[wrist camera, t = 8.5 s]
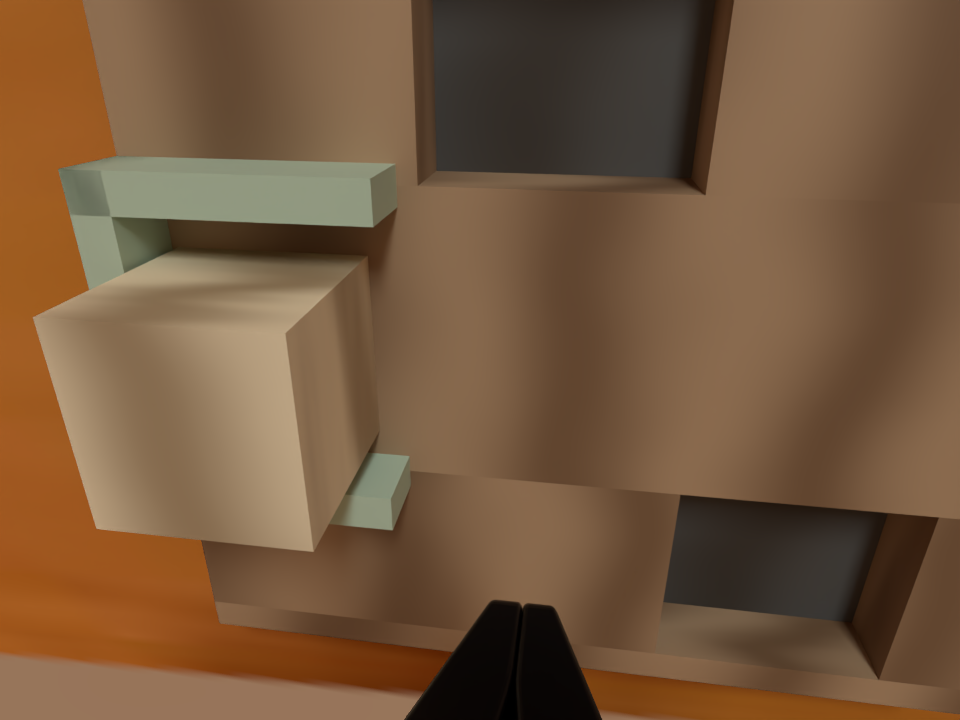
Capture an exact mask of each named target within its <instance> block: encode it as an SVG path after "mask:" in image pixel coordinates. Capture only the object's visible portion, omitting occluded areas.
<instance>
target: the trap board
mask: <svg viewBox="0 0 960 720" xmlns="http://www.w3.org/2000/svg"><path fill="white" fill-rule="evenodd" d="M83 4H84V9H85V13H86V18H87V23H88V27H89V32H90V36H91V41H92V45H93V50H94V54H95V59H96V63H97V68H98V73H99V77H100V82H101V86H102V91H103V95H104V100H105V104H106V109H107V113H108V118H109V123H110V127H111V132H112V136H113V141H114V145H115V150H116V154H117V156H134V157H170V158H206V159H243V160H279V161H315V162H351V163H387V164H395V166H396V186H397V208H396V209H395V210H393V211H392V212H391V213H390V214H389V215H387V216H386V217H385V218H384V219H383V220H381V221H380V222H379V223H378V224H377V225H375V226H374V227H354V226H329V225H304V224H280V223H255V222H230V221H205V220H181V219H167V223H168V228H169V233H170V238H171V243H172V248H173V250H174V249H176V248H178V247H189V248H211V249H232V250H253V251H275V252H296V253H318V254H339V255H360V256H368V267H369V281H370V296H371V311H372V325H373V340H374V354H375V369H376V383H377V398H378V413H379V427H380V431H379V432H378V434H377V436H376V438H375V440H374V442H373V443H372V445H371V447H370V449H369V451H368V453H379V454H390V455H402V456H409V457H410V478H411V486H410V489H409V491H408V494H407V496H406V499H405V501H404V504H403V506H402V509H401V511H400V514H399V516H398V519H397V521H396V524H395V526H394V529H393V530H384V529H374V528H364V527H354V526H344V525H334V524H329V525H328V526H327V528H326V530H325V532H324V534H323V536H322V537H321V539H320V541H319V543H318V545H317V547H316V549H315V550H314V552H309V551H300V550H290V549H281V548H272V547H262V546H253V545H244V544H234V543H225V542H215V541H206V540H201V541H202V545H203V550H204V554H205V559H206V564H207V568H208V573H209V577H210V582H211V586H212V591H213V595H214V600H215V604H216V609H217V614H218V618H219V623H221V624H230V625H238V626H246V627H254V628H262V629H270V630H278V631H287V632H295V633H303V634H311V635H319V636H327V637H335V638H343V639H352V640H360V641H368V642H376V643H384V644H392V645H400V646H409V647H417V648H425V649H433V650H441V651H449V652H454V650H455V649H456V647H457V646H458V645H459V643H460V642H461V640H462V639H463V638H464V636H465V635H466V634H467V632H468V631H469V629H470V628H471V627H472V625H473V624H474V622H475V621H476V620H477V618H478V617H479V616H480V614H481V613H482V611H483V610H484V609H485V607H486V606H487V605H488V603H489V602H490V601H492V600H505V601H515V602H519V603H520V604H521V605H522V609H523V606H524V605H525V604H526V603H533V604H542V605H551V606H553V607H554V608H555V609H556V611H557V613H558V615H559V618H560V620H561V622H562V625H563V627H564V630H565V632H566V634H567V637H568V639H569V642H570V644H571V646H572V649H573V651H574V654H575V656H576V658H577V661H578V663H579V665H580V668H587V669H596V670H604V671H612V672H620V673H628V674H636V675H644V676H653V677H661V678H669V679H677V680H685V681H693V682H701V683H709V684H718V685H726V686H734V687H742V688H750V689H758V690H766V691H775V692H783V693H791V694H799V695H807V696H815V697H823V698H831V699H840V700H848V701H856V702H864V703H872V704H880V705H888V706H897V707H905V708H913V709H921V710H929V711H937V712H945V713H953V714H960V0H83Z"/></svg>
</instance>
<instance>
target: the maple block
mask: <svg viewBox="0 0 960 720" xmlns="http://www.w3.org/2000/svg"><path fill="white" fill-rule="evenodd" d="M33 319H34V323H35V326H36V329H37V333H38V336H39V339H40V343H41V346H42V349H43V353H44V356H45V359H46V363H47V366H48V369H49V372H50V376H51V379H52V382H53V386H54V389H55V392H56V396H57V399H58V402H59V406H60V409H61V412H62V416H63V419H64V422H65V426H66V429H67V432H68V436H69V439H70V442H71V445H72V449H73V452H74V455H75V459H76V462H77V465H78V469H79V472H80V475H81V479H82V482H83V485H84V489H85V492H86V495H87V499H88V502H89V505H90V509H91V512H92V515H93V518H94V522H95V525H96V528H97V529H103V530H112V531H122V532H131V533H141V534H150V535H159V536H169V537H178V538H187V539H197V540H206V541H215V542H225V543H234V544H244V545H253V546H262V547H272V548H281V549H290V550H300V551H309V552H314V550H315V549H316V547H317V545H318V543H319V541H320V539H321V537H322V536H323V534H324V532H325V530H326V528H327V526H328V525H329V523H330V521H331V519H332V517H333V515H334V514H335V512H336V510H337V508H338V506H339V504H340V502H341V501H342V499H343V497H344V495H345V493H346V491H347V490H348V488H349V486H350V484H351V482H352V480H353V478H354V477H355V475H356V473H357V471H358V469H359V467H360V466H361V464H362V462H363V460H364V458H365V456H366V455H367V453H368V451H369V449H370V447H371V445H372V443H373V442H374V440H375V438H376V436H377V434H378V432H379V431H380V427H379V413H378V398H377V383H376V369H375V354H374V340H373V325H372V311H371V296H370V281H369V267H368V256H360V255H339V254H318V253H296V252H275V251H253V250H232V249H211V248H189V247H178V248H176V249H174V250H172V251H170V252H168V253H166V254H163V255H161V256H159V257H157V258H155V259H153V260H151V261H149V262H147V263H145V264H143V265H141V266H139V267H136V268H134V269H132V270H130V271H128V272H126V273H124V274H122V275H120V276H118V277H116V278H114V279H112V280H109V281H107V282H105V283H103V284H101V285H99V286H97V287H95V288H93V289H91V290H89V291H87V292H85V293H82V294H80V295H78V296H76V297H74V298H72V299H70V300H68V301H66V302H64V303H62V304H60V305H58V306H55V307H53V308H51V309H49V310H47V311H45V312H43V313H41V314H39V315H37V316H35V317H33Z"/></svg>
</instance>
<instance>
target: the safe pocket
mask: <svg viewBox="0 0 960 720" xmlns="http://www.w3.org/2000/svg"><path fill="white" fill-rule="evenodd" d="M58 170H59V174H60V178H61V182H62V186H63V190H64V193H65V197H66V201H67V205H68V209H69V213H70V217H71V220H72V224H73V228H74V232H75V236H76V240H77V244H78V248H79V251H80V255H81V259H82V263H83V267H84V271H85V275H86V279H87V282H88V286H89V290H91V289H93V288H95V287H97V286H99V285H101V284H103V283H105V282H107V281H109V280H112V279H114V278H116V277H118V276H120V275H122V274H124V273H126V272H128V271H130V270H132V269H134V268H136V267H139V266H141V265H143V264H145V263H147V262H149V261H151V260H153V259H155V258H157V257H159V256H161V255H163V254H166V253H168V252H170V251H172V250H173V248H172V243H171V238H170V233H169V228H168V223H167V219H181V220H205V221H230V222H255V223H280V224H304V225H329V226H354V227H374V226H375V225H377V224H378V223H379V222H380V221H381V220H383V219H384V218H385V217H386V216H387V215H389V214H390V213H391V212H392V211H393V210H395V209H396V208H397V186H396V166H395V164H387V163H351V162H315V161H279V160H243V159H206V158H170V157H134V156H115V157H110V158H106V159H101V160H97V161H92V162H88V163H83V164H79V165H74V166H70V167H65V168H61V169H58ZM410 486H411V478H410V457H409V456H402V455H390V454H379V453H367V455H366V456H365V458H364V460H363V462H362V464H361V466H360V467H359V469H358V471H357V473H356V475H355V477H354V478H353V480H352V482H351V484H350V486H349V488H348V490H347V491H346V493H345V495H344V497H343V499H342V501H341V502H340V504H339V506H338V508H337V510H336V512H335V514H334V515H333V517H332V519H331V521H330V523H329V524H334V525H344V526H354V527H364V528H374V529H384V530H393V529H394V526H395V524H396V521H397V519H398V516H399V514H400V511H401V509H402V506H403V504H404V501H405V499H406V496H407V494H408V491H409V489H410Z"/></svg>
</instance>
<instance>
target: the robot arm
mask: <svg viewBox="0 0 960 720" xmlns="http://www.w3.org/2000/svg"><path fill="white" fill-rule="evenodd" d="M404 720H602V718H601V716H600V713H599V711H598V709H597V706H596V704H595V701H594V699H593V697H592V694H591V692H590V689H589V687H588V685H587V682H586V680H585V677H584V675H583V673H582V670H581V668H580V665H579V663H578V661H577V658H576V656H575V654H574V651H573V649H572V646H571V644H570V642H569V639H568V637H567V634H566V632H565V630H564V627H563V625H562V622H561V620H560V618H559V615H558V613H557V611H556V609H555V608H554V607H553V606H551V605H542V604H533V603H526V604H525V605H524V606H523V609H522V605H521V604H520V603H519V602H515V601H505V600H492V601H490V602H489V603H488V605H487V606H486V607H485V609H484V610H483V611H482V613H481V614H480V616H479V617H478V618H477V620H476V621H475V622H474V624H473V625H472V627H471V628H470V629H469V631H468V632H467V634H466V635H465V636H464V638H463V639H462V640H461V642H460V643H459V645H458V646H457V647H456V649H455V650H454V652H453V653H452V654H451V656H450V657H449V658H448V660H447V661H446V663H445V664H444V665H443V667H442V668H441V669H440V671H439V672H438V674H437V675H436V676H435V678H434V679H433V681H432V682H431V683H430V685H429V686H428V687H427V689H426V690H425V692H424V693H423V694H422V696H421V697H420V698H419V700H418V701H417V703H416V704H415V705H414V707H413V708H412V710H411V711H410V712H409V714H408V715H407V716H406V718H405V719H404Z"/></svg>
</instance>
